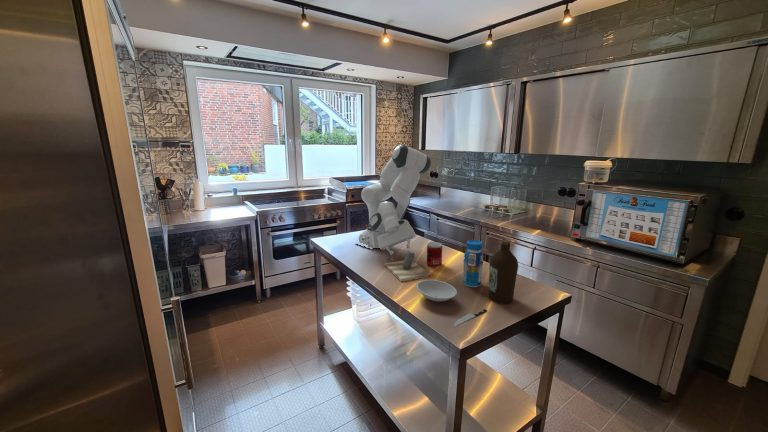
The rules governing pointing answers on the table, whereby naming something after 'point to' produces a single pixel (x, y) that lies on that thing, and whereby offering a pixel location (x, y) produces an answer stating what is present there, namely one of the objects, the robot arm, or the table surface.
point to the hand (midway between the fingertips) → (400, 251)
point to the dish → (436, 290)
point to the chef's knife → (468, 317)
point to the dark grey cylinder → (408, 259)
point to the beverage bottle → (473, 264)
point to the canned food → (434, 254)
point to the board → (406, 271)
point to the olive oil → (502, 274)
